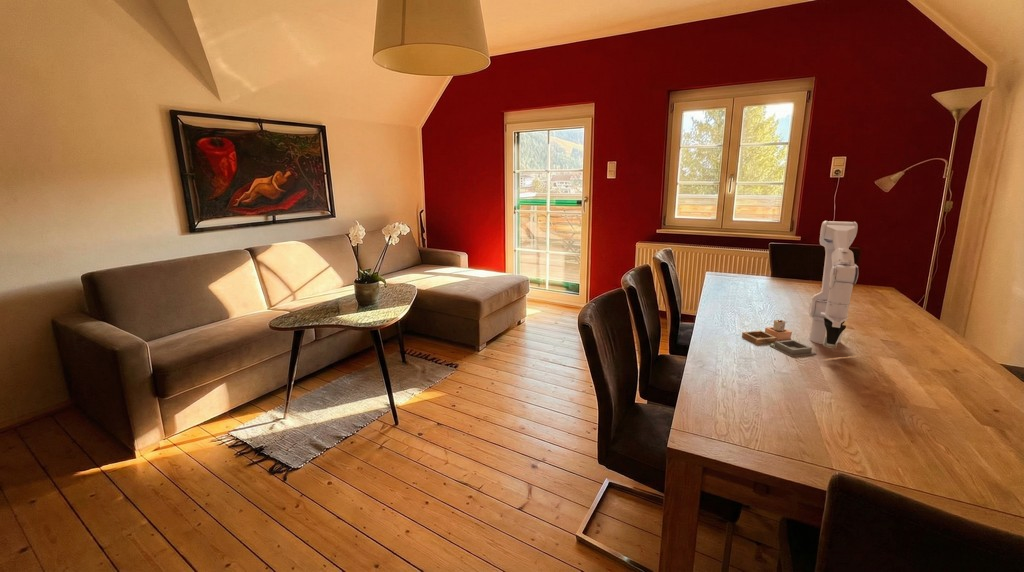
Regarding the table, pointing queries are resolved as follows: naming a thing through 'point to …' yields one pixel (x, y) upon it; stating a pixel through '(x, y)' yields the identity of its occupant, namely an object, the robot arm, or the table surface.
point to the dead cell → (779, 325)
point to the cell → (829, 344)
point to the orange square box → (779, 333)
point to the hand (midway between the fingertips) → (830, 341)
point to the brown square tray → (759, 337)
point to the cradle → (793, 348)
